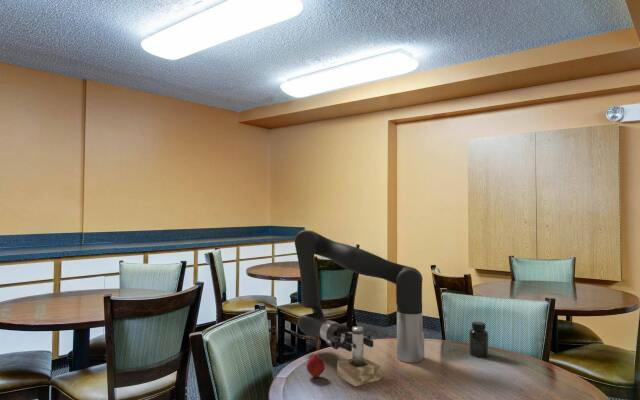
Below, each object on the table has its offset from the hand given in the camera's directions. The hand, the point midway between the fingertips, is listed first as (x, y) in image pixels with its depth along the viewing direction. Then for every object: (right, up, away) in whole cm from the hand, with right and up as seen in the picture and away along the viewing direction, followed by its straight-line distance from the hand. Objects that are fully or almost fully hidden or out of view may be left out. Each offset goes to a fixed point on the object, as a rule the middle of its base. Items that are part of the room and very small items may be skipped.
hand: (361, 346), depth 134 cm
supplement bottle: (+47, -12, +24) cm, 54 cm away
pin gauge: (-1, -10, +1) cm, 10 cm away
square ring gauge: (-1, -11, +1) cm, 11 cm away
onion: (-15, -11, +1) cm, 19 cm away
